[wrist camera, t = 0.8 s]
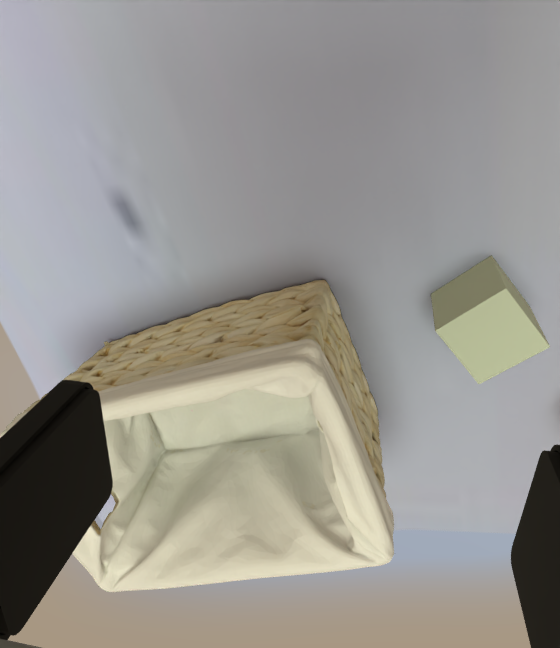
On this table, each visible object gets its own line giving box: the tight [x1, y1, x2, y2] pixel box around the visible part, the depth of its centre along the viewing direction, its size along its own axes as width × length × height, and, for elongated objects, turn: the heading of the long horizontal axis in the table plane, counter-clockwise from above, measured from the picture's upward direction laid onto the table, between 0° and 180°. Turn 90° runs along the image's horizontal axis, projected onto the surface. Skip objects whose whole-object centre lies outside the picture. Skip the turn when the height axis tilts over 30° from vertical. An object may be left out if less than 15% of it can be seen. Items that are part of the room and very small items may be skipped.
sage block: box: [431, 255, 550, 384], centre depth 36 cm, size 5×5×6 cm
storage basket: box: [0, 280, 394, 592], centre depth 40 cm, size 24×16×15 cm
